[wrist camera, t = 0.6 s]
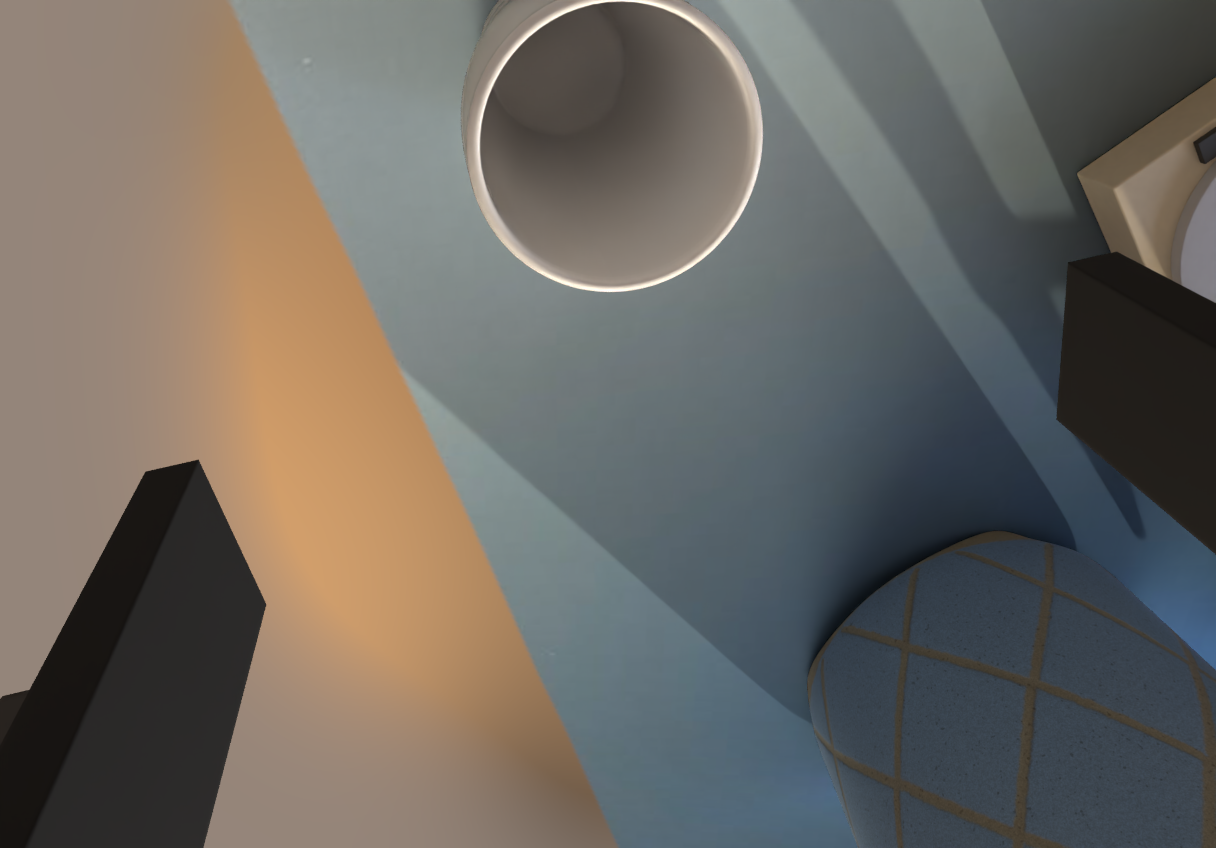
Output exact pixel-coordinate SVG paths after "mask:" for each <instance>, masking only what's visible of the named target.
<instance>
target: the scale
mask: <svg viewBox="0 0 1216 848" xmlns="http://www.w3.org/2000/svg"><path fill="white" fill-rule="evenodd" d="M1077 175H1078V177H1079V180H1080V182H1081V184H1082V187H1083V189H1084V191H1085V193H1086V196H1087V198H1088V200H1089V203H1090V205H1091V207H1092V210H1093V212H1094V214H1095V216H1096V219H1097V221H1098V223H1099V226H1100V228H1101V230H1102V233H1103V235H1104V237H1105V239H1106V242H1107V244H1108V246H1109V249H1110V251H1111V253H1112V252H1119V253H1121V254H1122V255H1124V256H1126V257H1128V258H1130V259H1132V260H1134V261H1136V262H1138V263H1140V264H1142V265H1144V266H1146V267H1147V268H1149V269H1151V270H1153V271H1155V272H1157V273H1159V274H1161V275H1163V276H1165V277H1167V278H1169V279H1171V280H1172V281H1174V282H1176V283H1178V284H1180V285H1182V286H1184V287H1186V288H1188V289H1190V290H1192V291H1194V292H1196V293H1197V294H1199V295H1201V296H1203V297H1205V298H1207V299H1209V300H1211V301H1213V302H1215V303H1216V77H1215V78H1214V79H1212V80H1211V81H1209V82H1208V83H1206V84H1205V85H1203V86H1202V87H1201V88H1199V89H1198V90H1196V91H1195V92H1193V93H1192V94H1190V95H1189V96H1188V97H1186V98H1185V99H1183V100H1182V101H1180V102H1179V103H1177V104H1176V105H1175V106H1173V107H1172V108H1170V109H1169V110H1167V111H1166V112H1164V113H1163V114H1162V115H1160V116H1159V117H1157V118H1156V119H1154V120H1153V121H1151V122H1150V123H1149V124H1147V125H1146V126H1144V127H1143V128H1141V129H1140V130H1138V131H1137V132H1136V133H1134V134H1133V135H1131V136H1130V137H1128V138H1127V139H1125V140H1124V141H1122V142H1121V143H1120V144H1118V145H1117V146H1115V147H1114V148H1112V149H1111V150H1109V151H1108V152H1107V153H1105V154H1104V155H1102V156H1101V157H1099V158H1098V159H1096V160H1095V161H1094V162H1092V163H1091V164H1089V165H1088V166H1086V167H1085V168H1083V169H1082V170H1081V171H1079V172H1078V173H1077Z"/></svg>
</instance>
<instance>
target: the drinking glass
mask: <svg viewBox="0 0 1216 848" xmlns="http://www.w3.org/2000/svg"><path fill="white" fill-rule="evenodd" d="M461 133H462V143H463V150H464V155H465V160H466V165H467V169H468V173H469V176H470V181H471V184H472V188H473V191H474V194H475V197H476V199H477V202H478V204H479V207H480V209H481V211H482V213H483V215H484V217H485V219H486V220H487V222H488V224H489V225H490V227H491V228H492V230H493V231H494V233H495V234H496V236H497V237H498V238H499V239H500V240H501V242H502V243H503V244H504V245H505V246H506V247H507V248H508V249H509V250H510V251H511V252H512V253H513V254H514V255H515V256H516V257H517V258H518V259H520V260H521V261H522V262H523V263H524V264H526V265H527V266H529V267H530V268H532V269H533V270H535V271H536V272H538V273H540V274H542V275H543V276H545V277H547V278H549V279H551V280H554V281H556V282H559V283H561V284H564V285H567V286H571V287H574V288H579V289H583V290H589V291H598V292H620V291H630V290H636V289H641V288H645V287H649V286H652V285H656V284H658V283H661V282H664V281H666V280H669V279H671V278H673V277H675V276H677V275H679V274H681V273H683V272H684V271H686V270H688V269H689V268H691V267H692V266H694V265H695V264H697V263H698V262H699V261H701V260H702V259H703V258H704V257H706V256H707V255H708V254H709V253H710V252H711V251H713V250H714V249H715V247H716V246H717V245H718V244H719V243H720V242H721V241H722V240H723V239H724V238H725V237H726V235H727V234H728V233H729V232H730V230H731V229H732V228H733V226H734V225H735V223H736V222H737V220H738V219H739V217H740V215H741V214H742V212H743V210H744V208H745V206H746V204H747V202H748V200H749V198H750V195H751V193H752V191H753V188H754V185H755V182H756V179H757V175H758V171H759V166H760V161H761V155H762V145H763V122H762V113H761V106H760V101H759V97H758V93H757V89H756V86H755V83H754V80H753V78H752V75H751V73H750V71H749V69H748V66H747V64H746V62H745V60H744V59H743V57H742V55H741V54H740V52H739V50H738V49H737V47H736V46H735V45H734V43H733V42H732V41H731V39H730V38H729V37H728V36H727V35H726V33H725V32H724V31H723V30H722V29H721V28H720V27H719V26H718V25H717V24H716V23H715V22H714V21H712V20H711V19H710V18H709V17H708V16H707V15H705V14H704V13H702V12H701V11H700V10H698V9H697V8H695V7H694V6H692V5H691V4H689V3H688V2H687V1H685V0H499V1H498V2H497V3H496V4H495V6H494V7H493V9H492V10H491V12H490V13H489V15H488V17H487V19H486V21H485V24H484V26H483V29H482V33H481V36H480V39H479V40H478V42H477V44H476V46H475V49H474V51H473V54H472V56H471V59H470V62H469V65H468V68H467V72H466V75H465V80H464V85H463V91H462V101H461Z"/></svg>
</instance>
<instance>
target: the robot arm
mask: <svg viewBox="0 0 1216 848" xmlns="http://www.w3.org/2000/svg"><path fill="white" fill-rule="evenodd" d="M1056 420H1058V421H1059V422H1060V423H1061V424H1062V425H1064V426H1065V427H1066V428H1067V429H1068V430H1069V431H1071V432H1072V433H1073V434H1074V435H1075V436H1077V437H1078V438H1079V439H1080V440H1081V441H1082V442H1084V443H1085V444H1086V445H1087V446H1088V447H1090V448H1091V449H1092V450H1093V451H1094V452H1095V453H1097V454H1098V455H1099V456H1100V457H1101V458H1103V459H1104V460H1105V461H1106V462H1107V463H1108V464H1110V465H1111V466H1112V467H1113V468H1114V469H1115V470H1117V471H1118V472H1119V473H1120V474H1121V475H1123V476H1124V477H1125V478H1126V479H1127V480H1128V481H1130V482H1131V483H1132V484H1133V485H1134V486H1136V487H1137V488H1138V489H1139V490H1140V491H1141V492H1143V493H1144V494H1145V495H1146V496H1147V497H1149V498H1150V499H1151V500H1152V501H1153V502H1154V503H1156V504H1157V505H1158V506H1159V507H1160V508H1162V509H1163V510H1164V511H1165V512H1166V513H1167V514H1169V515H1170V516H1171V517H1172V518H1173V519H1174V520H1176V521H1177V522H1178V523H1179V524H1180V525H1182V526H1183V527H1184V528H1185V529H1186V530H1187V531H1189V532H1190V533H1191V534H1192V535H1193V536H1195V537H1196V538H1197V539H1198V540H1199V541H1200V542H1202V543H1203V544H1204V545H1205V546H1206V547H1208V548H1209V549H1210V550H1211V551H1212V552H1213V553H1215V554H1216V303H1215V302H1213V301H1211V300H1209V299H1207V298H1205V297H1203V296H1201V295H1199V294H1197V293H1196V292H1194V291H1192V290H1190V289H1188V288H1186V287H1184V286H1182V285H1180V284H1178V283H1176V282H1174V281H1172V280H1171V279H1169V278H1167V277H1165V276H1163V275H1161V274H1159V273H1157V272H1155V271H1153V270H1151V269H1149V268H1147V267H1146V266H1144V265H1142V264H1140V263H1138V262H1136V261H1134V260H1132V259H1130V258H1128V257H1126V256H1124V255H1122V254H1121V253H1119V252H1112V253H1108V254H1104V255H1099V256H1095V257H1090V258H1086V259H1082V260H1077V261H1073V262H1068V271H1067V284H1066V298H1065V311H1064V324H1063V338H1062V351H1061V364H1060V378H1059V391H1058V404H1057V418H1056ZM265 607H266V603H265V601H264V599H263V596H262V594H261V592H260V590H259V588H258V586H257V584H256V581H255V579H254V577H253V575H252V573H251V571H250V569H249V567H248V564H247V562H246V560H245V558H244V556H243V554H242V552H241V549H240V547H239V545H238V543H237V541H236V539H235V537H234V535H233V532H232V531H231V528H230V526H229V524H228V522H227V519H226V517H225V515H224V513H223V511H222V509H221V507H220V505H219V502H218V500H217V498H216V496H215V494H214V492H213V490H212V488H211V485H210V483H209V481H208V479H207V477H206V475H205V473H204V470H203V469H202V466H201V464H200V462H199V460H195V461H191V462H186V463H182V464H178V465H173V466H169V467H165V468H160V469H156V470H151V471H147V472H145V474H144V476H143V478H142V479H141V481H140V483H139V485H138V487H137V489H136V491H135V493H134V495H133V496H132V498H131V500H130V502H129V504H128V506H127V508H126V509H125V511H124V513H123V515H122V517H121V519H120V521H119V523H118V525H117V526H116V528H115V530H114V532H113V534H112V536H111V538H110V540H109V541H108V543H107V545H106V547H105V549H104V551H103V553H102V555H101V557H100V558H99V560H98V562H97V564H96V566H95V568H94V570H93V572H92V573H91V575H90V577H89V579H88V581H87V583H86V585H85V587H84V588H83V590H82V592H81V594H80V596H79V598H78V600H77V602H76V604H75V605H74V607H73V609H72V611H71V613H70V615H69V617H68V619H67V620H66V622H65V624H64V626H63V628H62V630H61V632H60V634H59V635H58V637H57V639H56V641H55V643H54V645H53V647H52V649H51V651H50V653H49V654H48V656H47V658H46V660H45V662H44V664H43V666H42V667H41V670H40V671H39V673H38V675H37V677H36V679H35V681H34V683H33V684H32V686H31V688H30V690H27V691H23V692H19V693H14V694H10V695H6V696H2V698H1V699H0V848H203V846H204V843H205V839H206V835H207V832H208V828H209V824H210V819H211V816H212V812H213V808H214V804H215V800H216V797H217V793H218V789H219V785H220V781H221V777H222V774H223V770H224V766H225V762H226V758H227V754H228V750H229V746H230V743H231V739H232V735H233V731H234V727H235V723H236V719H237V716H238V711H239V708H240V704H241V700H242V696H243V692H244V688H245V684H246V681H247V677H248V673H249V669H250V665H251V661H252V658H253V653H254V650H255V646H256V642H257V638H258V634H259V630H260V627H261V623H262V619H263V615H264V611H265Z"/></svg>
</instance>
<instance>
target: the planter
mask: <svg viewBox="0 0 1216 848" xmlns="http://www.w3.org/2000/svg"><path fill="white" fill-rule="evenodd" d="M807 690H808V700H809V707H810V713H811V718H812V723H813V728H814V733H815V736H816V740H817V743H818V746H819V749H820V752H821V754H822V757H823V759H824V762H825V765H826V767H827V770H828V772H829V775H830V777H831V780H832V782H833V785H834V788H835V790H836V793H837V795H838V798H839V800H840V803H841V805H842V808H843V811H844V813H845V816H846V818H847V821H848V823H849V826H850V828H851V831H852V834H853V836H854V839H855V841H856V844H857V846H858V848H1216V670H1215V669H1214V668H1213V667H1212V666H1210V665H1209V664H1208V663H1207V662H1206V661H1205V660H1204V659H1203V658H1202V657H1201V656H1200V655H1199V654H1198V653H1196V652H1195V651H1194V650H1193V649H1192V648H1191V647H1190V646H1189V645H1188V644H1187V643H1186V642H1185V641H1184V640H1182V639H1181V638H1180V637H1179V636H1178V635H1177V634H1176V633H1175V632H1174V631H1173V630H1172V629H1171V628H1170V627H1168V626H1167V625H1166V624H1165V623H1164V622H1163V621H1162V620H1161V619H1160V618H1159V617H1158V616H1157V615H1155V614H1154V613H1153V612H1152V611H1151V610H1150V609H1149V608H1148V607H1147V606H1146V605H1145V604H1144V603H1143V602H1142V601H1140V600H1139V599H1138V598H1137V597H1136V596H1135V595H1134V594H1133V593H1132V592H1131V591H1130V590H1129V589H1128V588H1126V587H1125V586H1124V585H1123V584H1122V583H1121V582H1120V581H1119V580H1118V579H1117V578H1116V577H1115V576H1113V575H1112V574H1111V573H1110V572H1108V571H1107V570H1106V569H1105V568H1103V567H1102V566H1101V565H1100V564H1098V563H1097V562H1095V561H1093V560H1092V559H1090V558H1089V557H1087V556H1085V555H1083V554H1081V553H1079V552H1077V551H1075V550H1072V549H1069V548H1066V547H1063V546H1059V545H1055V544H1052V543H1047V542H1043V541H1039V540H1034V539H1030V538H1027V537H1024V536H1020V535H1017V534H1014V533H1010V532H1006V531H991V532H986V533H982V534H979V535H976V536H973V537H970V538H968V539H965V540H963V541H961V542H958V543H956V544H954V545H952V546H950V547H948V548H945V549H943V550H941V551H940V552H938V553H936V554H934V555H932V556H930V557H928V558H926V559H924V560H923V561H921V562H919V563H917V564H916V565H914V566H912V567H910V568H909V569H907V570H905V571H904V572H902V573H901V574H899V575H897V576H896V577H894V578H893V579H891V580H890V581H889V582H887V583H886V584H884V585H883V586H882V587H880V588H879V589H878V590H876V591H875V592H874V593H873V594H872V595H870V596H869V597H868V598H867V599H866V600H865V601H864V602H862V603H861V604H860V605H859V606H858V607H857V608H856V609H855V610H854V611H853V612H852V613H851V614H850V615H849V616H848V617H847V618H846V619H845V621H844V622H843V623H842V624H841V625H840V626H839V627H838V628H837V630H836V631H835V632H834V633H833V634H832V636H831V637H830V638H829V639H828V641H827V642H826V643H825V645H824V646H823V647H822V649H821V650H820V652H819V653H818V655H817V656H816V658H815V660H814V662H813V664H812V666H811V668H810V671H809V674H808V681H807Z"/></svg>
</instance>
